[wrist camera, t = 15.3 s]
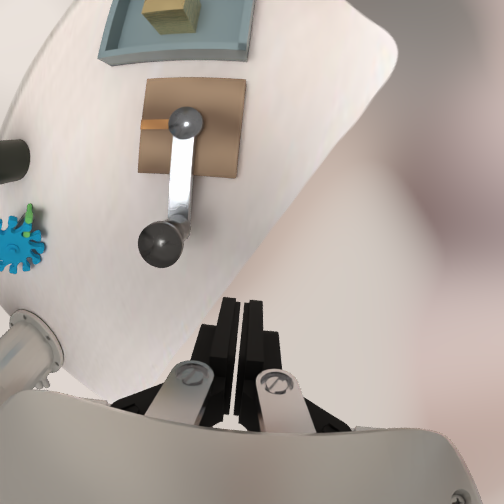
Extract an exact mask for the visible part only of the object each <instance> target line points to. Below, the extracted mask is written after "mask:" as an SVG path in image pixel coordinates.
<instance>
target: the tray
mask: <svg viewBox="0 0 504 504" xmlns="http://www.w3.org/2000/svg"><path fill="white" fill-rule="evenodd" d="M144 2H145V0H113V2H112V5H111V8H110V11H109V15H108V18H107V22H106V25H105V29H104V33H103V37H102V41H101V45H100V49H99V54H98V58H97V59H99V60H101V61H103V62H105V63H107V64H108V65H110V66H117V65H124V64H132V63H142V62H154V61H170V60H229V61H245V62H247V58H248V50H249V43H250V35H251V28H252V20H253V13H254V6H255V0H200V3H201V9H200V14H199V18H198V23H197V29H196V33H181V34H165V35H160V34H159V33H158V32H157V31H156V29H155V28H154V27H153V26H152V25H151V24H150V23H149V21H148V20H147V19H146V18H145V17H144V16H143V15H142V14H141V12H142V9H143V5H144Z"/></svg>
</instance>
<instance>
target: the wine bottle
mask: <svg viewBox="0 0 504 504" xmlns="http://www.w3.org/2000/svg"><path fill="white" fill-rule="evenodd" d="M29 162H30V153H29V149H28V146H27V144H26V143H25V142H24V141H23V140H3V141H0V184H4V183H8V182H12V181H17V180H20V179H22V178H23V177H24V175H25V174H26V172H27V170H28V167H29Z"/></svg>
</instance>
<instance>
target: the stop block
mask: <svg viewBox="0 0 504 504" xmlns="http://www.w3.org/2000/svg"><path fill="white" fill-rule="evenodd" d="M200 9H201V3H200V0H145V2H144V5H143V9H142V12H141V14H142V15H143V16H144V17H145V18H146V19H147V20H148V21H149V23H150V24H151V25H152V26H153V27H154V28H155V29H156V31H157V32H158V33H159V34H160V35H165V34H181V33H196V29H197V23H198V18H199V14H200Z"/></svg>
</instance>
